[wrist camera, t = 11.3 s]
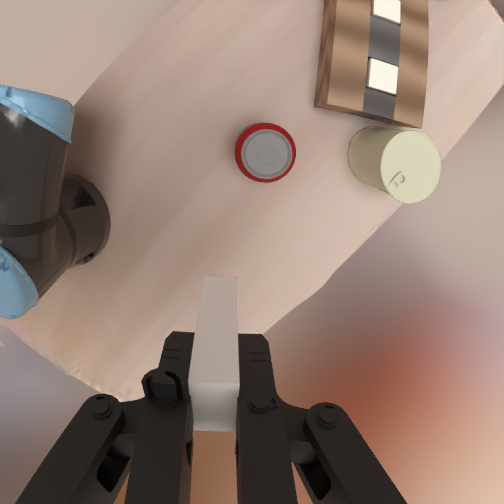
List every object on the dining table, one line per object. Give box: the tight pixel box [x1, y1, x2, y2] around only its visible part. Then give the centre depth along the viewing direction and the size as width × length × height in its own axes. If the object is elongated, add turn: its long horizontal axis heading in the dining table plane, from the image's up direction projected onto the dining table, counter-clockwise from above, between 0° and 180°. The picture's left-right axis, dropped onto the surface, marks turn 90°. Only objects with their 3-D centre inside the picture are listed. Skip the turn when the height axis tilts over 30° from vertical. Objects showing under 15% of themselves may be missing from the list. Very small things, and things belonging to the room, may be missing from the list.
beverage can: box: [235, 123, 296, 183], centre depth 36 cm, size 7×7×12 cm
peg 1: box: [370, 0, 400, 25], centre depth 30 cm, size 4×4×7 cm
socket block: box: [314, 0, 428, 128], centre depth 32 cm, size 22×14×7 cm, turn 174°
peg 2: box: [365, 58, 398, 95], centre depth 34 cm, size 4×4×7 cm
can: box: [348, 127, 441, 203], centre depth 37 cm, size 9×9×12 cm
